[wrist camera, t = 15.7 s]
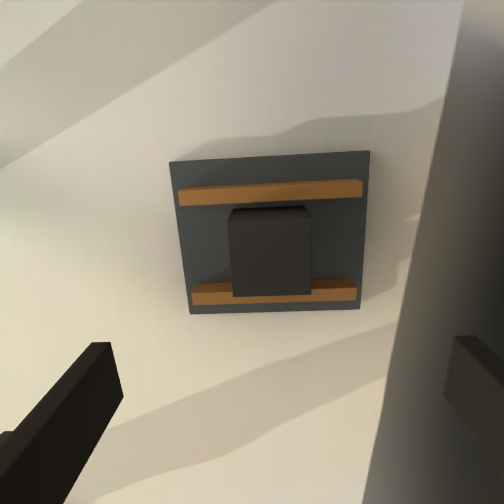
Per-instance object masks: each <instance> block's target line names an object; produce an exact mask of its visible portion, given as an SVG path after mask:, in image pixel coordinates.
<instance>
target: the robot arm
mask: <svg viewBox="0 0 504 504" xmlns="http://www.w3.org/2000/svg"><path fill="white" fill-rule="evenodd" d="M443 395H444V397H445V398H446V400H447V401H448V402H449V404H450V405H451V407H452V408H453V410H454V411H455V413H456V414H457V415H458V417H459V418H460V419H461V421H462V423H463V424H464V425H465V427H466V428H467V430H468V431H469V433H470V434H471V436H472V437H473V438H474V440H475V441H476V443H477V444H478V445H479V447H480V448H481V450H482V451H483V453H484V454H485V456H486V457H487V458H488V460H489V461H490V463H491V464H492V466H493V467H494V469H495V470H496V471H497V473H498V474H499V476H500V477H501V479H502V480H503V482H504V361H503V360H502V359H501V358H500V357H498V355H496V354H495V353H494V352H493V351H492V350H491V349H490V348H489V347H488V346H487V345H486V344H485V343H483V342H482V341H481V340H480V339H479V338H478V337H477V336H454V341H453V346H452V352H451V356H450V362H449V367H448V372H447V378H446V383H445V388H444V393H443ZM123 397H124V396H123V392H122V388H121V384H120V379H119V375H118V371H117V367H116V363H115V359H114V355H113V351H112V347H111V342H92V343H91V344H90V345H89V346H88V347H87V348H86V350H85V351H84V352H83V353H82V354H81V355H80V356H79V357H78V359H77V360H76V361H75V362H74V363H73V364H72V365H71V366H70V368H69V369H68V370H67V371H66V372H65V373H64V374H63V376H62V377H61V378H60V379H59V380H58V381H57V382H56V383H55V385H54V386H53V387H52V388H51V389H50V390H49V391H48V393H47V394H46V395H45V396H44V397H43V398H42V399H41V400H40V402H39V403H38V404H37V405H36V406H35V407H34V408H33V410H32V411H31V412H30V413H29V414H28V415H27V416H26V417H25V419H24V420H23V421H22V422H21V423H20V424H19V425H18V427H17V428H16V429H15V430H14V431H4V432H3V433H2V434H0V504H63V503H64V501H65V499H66V498H67V496H68V494H69V492H70V491H71V489H72V487H73V485H74V484H75V482H76V480H77V478H78V477H79V475H80V473H81V471H82V469H83V468H84V466H85V464H86V462H87V461H88V459H89V457H90V455H91V454H92V452H93V450H94V448H95V447H96V445H97V443H98V441H99V440H100V438H101V436H102V434H103V432H104V431H105V429H106V427H107V425H108V424H109V422H110V420H111V418H112V417H113V415H114V413H115V411H116V410H117V408H118V406H119V404H120V403H121V401H122V399H123Z"/></svg>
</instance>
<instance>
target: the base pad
mask: <svg viewBox="0 0 504 504" xmlns="http://www.w3.org/2000/svg"><path fill="white" fill-rule="evenodd" d="M369 162H370V151H350V152H333V153H315V154H298V155H281V156H263V157H246V158H229V159H211V160H194V161H177V162H169V167H170V174H171V182H172V189H173V196H174V203H175V210H176V218H177V225H178V232H179V239H180V247H181V254H182V261H183V268H184V275H185V283H186V290H187V297H188V304H189V311H190V314H218V313H252V312H286V311H319V310H353V309H360V301H361V286H362V270H363V255H364V239H365V224H366V208H367V193H368V177H369ZM302 205H304V206H305V207H306V209H307V210H308V212H309V214H310V215H311V217H312V294H311V295H288V296H256V297H233V293H232V281H231V269H230V258H229V246H228V234H227V220H228V218H229V216H230V214H231V212H232V210H233V209H239V208H260V207H281V206H302Z"/></svg>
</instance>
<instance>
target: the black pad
mask: <svg viewBox="0 0 504 504" xmlns="http://www.w3.org/2000/svg"><path fill="white" fill-rule="evenodd" d="M227 234H228V246H229V258H230V269H231V281H232V293H233V297H256V296H288V295H311V294H312V217H311V215H310V214H309V212H308V210H307V209H306V207H305V206H304V205H302V206H281V207H260V208H239V209H233V210H232V212H231V214H230V216H229V218H228V220H227Z"/></svg>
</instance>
